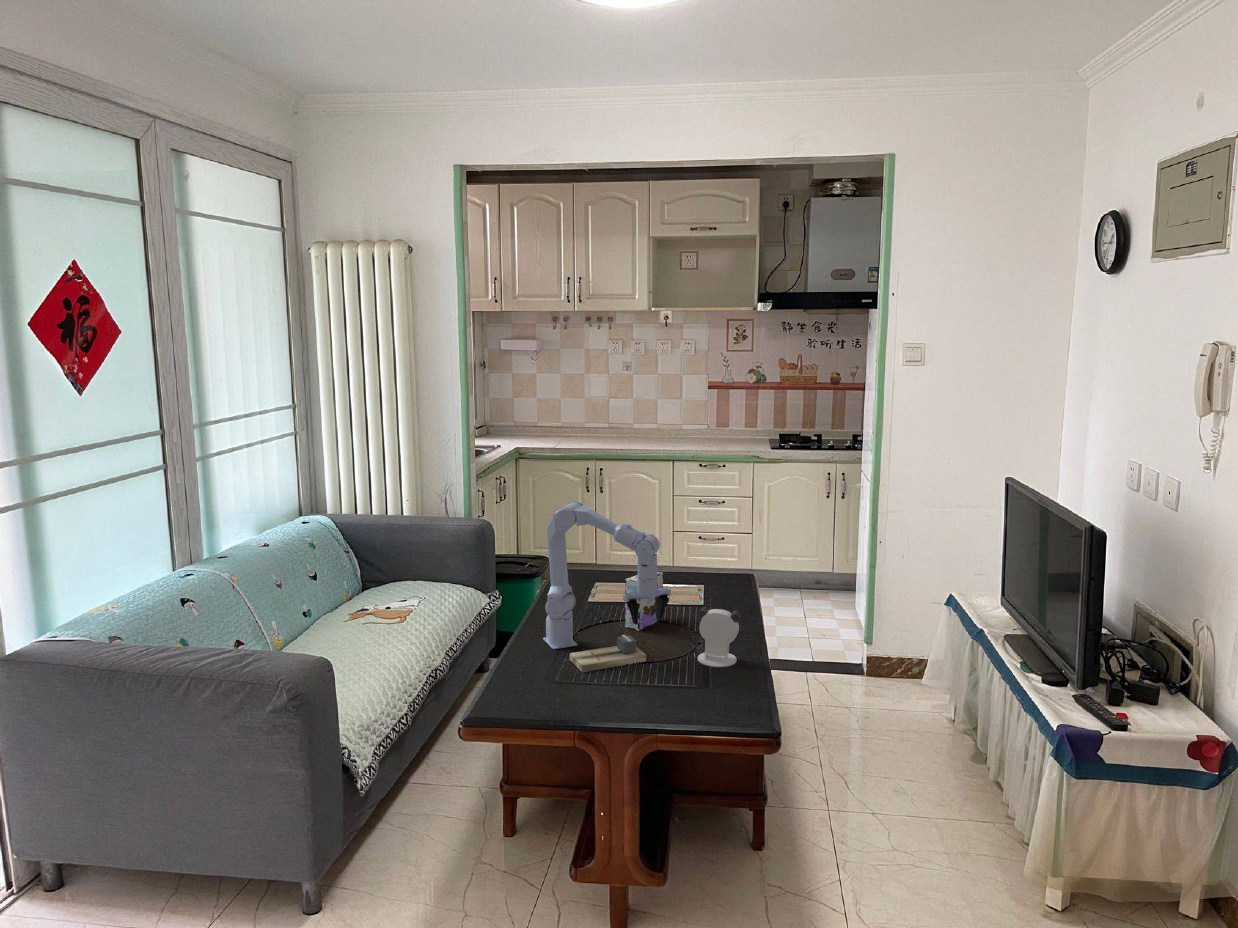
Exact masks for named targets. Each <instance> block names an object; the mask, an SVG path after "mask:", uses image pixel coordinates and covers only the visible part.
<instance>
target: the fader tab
mask: <svg viewBox="0 0 1238 928" xmlns="http://www.w3.org/2000/svg"><path fill="white" fill-rule="evenodd" d="M616 646H617V648H618V649H619V650H621V651H622V652H623V653H629V652H635V651H636V647H637V640H636V639H635V638H634V637H633V636H631V635H626V634H622V635H621V636H617V638H616Z"/></svg>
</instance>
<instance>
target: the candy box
mask: <svg viewBox="0 0 1238 928" xmlns="http://www.w3.org/2000/svg"><path fill="white" fill-rule="evenodd" d="M624 581H625V583H624V584H625V585H624V586H625V587H624V588H625V590H624V594H625V593H629V592H633V591H636V590H637V585H638V574H636V575H632V576H630V577H628V578H625V580H624ZM657 588H664V572H659V571H657ZM636 601H637V603H638V604H639V609H638V624H637V625H635V624H634V623H633V621H632V617H631V613H630V610H629V608H628V606H627V604H626V602H625V601H624V628H627V629H629V630H630V629H631V630H634V631H638V632H639V631H641V630H643V629H646V628H648V627H650V626H652V625H655V624H657V623H659V622H660V621H658V620H657V619H656V602H655V598H645V599H638V600H636ZM663 616H664V615H662V619H661V621H663Z"/></svg>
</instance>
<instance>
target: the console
mask: <svg viewBox="0 0 1238 928" xmlns="http://www.w3.org/2000/svg"><path fill="white" fill-rule="evenodd" d="M569 661H571V662H572V663H573V665H574V666H576V668H577V669H578V670H579V671H580V672H581V673H586V672H592V671H599V670H603V669H604V670H605V669H609V668H615V667H614V666H616V667H621V666H627V665H626V664H628V665H633V663H634V664H639V662H640V663H644V662H645V661H646V662H647V654H646V653H645V652H643V651H642V650H641V649H640V648H639V647H637V646H636V651H635V652H629V653H623V652H622V651H621V650H619V649H618V648H617V645H612V646H607V647H599V648H594V649H587V650H582V651H576V652H570V653H569Z"/></svg>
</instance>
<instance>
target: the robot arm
mask: <svg viewBox="0 0 1238 928" xmlns="http://www.w3.org/2000/svg"><path fill="white" fill-rule="evenodd" d="M575 525H576V526H577V527H579V526H586V525H590V526H593V527H594V528H596V529H598V530H600V531H603V532H605V533H608V534H609V535H612V537H613V540H614V542H617V543H619V544H620V545H622V546H624V547H626V548H627V549H630V550H631V551H633V552H634V553H635V555H636V557H637V575H638V585H637V590H636V591H633V592H629V593H625V592H624V593H623V595H622V598H623V599H622V600H623V601H624V603H625V602H626V604H627V606H628V608H629V610H630V613H631V617H632V621H633V623H634V624H635V625H637V624H638V609H639V604H638V603H637V601H636V600H638V599H645V598H655V602H656V619H657V620H658V621H659V622H661V621H662V620H661V619H662V615H663V614H664V612H665V609H666V608H667V605H668V604H669V601H670V598H669V597H671V596H672V589H670V588H669V587H663V588H657V572H658V553H657V552H658V551H659V549H660V548H661V547H660V546H661V543H660V540H659V539H658V538H657V537H656V536H655V535H654V534H652V533H650V534H647V533H646V532H644V531H643V532H642V531H639V530H638V529H636V528H634V527H632V526H633V525H632V524H630V523H627V524H626V523H621V524H617V523H615V522H614V521H612V520H611V519H609V518H607V517H605V516H604V515H602V514H601V513H598V512H597V511H595V510H594V509H592V508H591V507H590V506H589V505H586V504H583V503H582V502H580V501H572V502H569V504H567V505H565V506H563V507H560V508H559V509H556V511H555V512H553V514H552V518H551V521H550V522H549V524H548V526H547V528H546V529H547V530H546V535H547V549H548V564H549V577H550V579H549V580H550V588H549V590H548V593H547V601H546V603H545V606H544V607H545V608H544V609H545V612H546V614H547V616H546V619H545V637H542V640H543V641H544V642H545V643H546V644H547V645H548V646H549V647H550V648H551V649H552V650H557V649H563V648H564V649H565V648H570V647H577V646H578V643H577V642H576V641H574V640H573V639H574V638H573V637H574V636H573V632H574V631H573V630H574V629H573V627H574V626H573V624H574V623H573V620H574V619H573V618H574V617H573V609H574V607H575V606H576V601H577V599H576V596H575V595H574V594H573V593H574V592H573V588H572V586H571V585H570V584H569V575H568V574H569V573H568V560H567V559H568V557H567V543H566V542H567V541H566V534H567V532H568V531H569V530H570V529H571V528H572V527H573V526H575ZM663 616H664V615H663Z"/></svg>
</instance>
